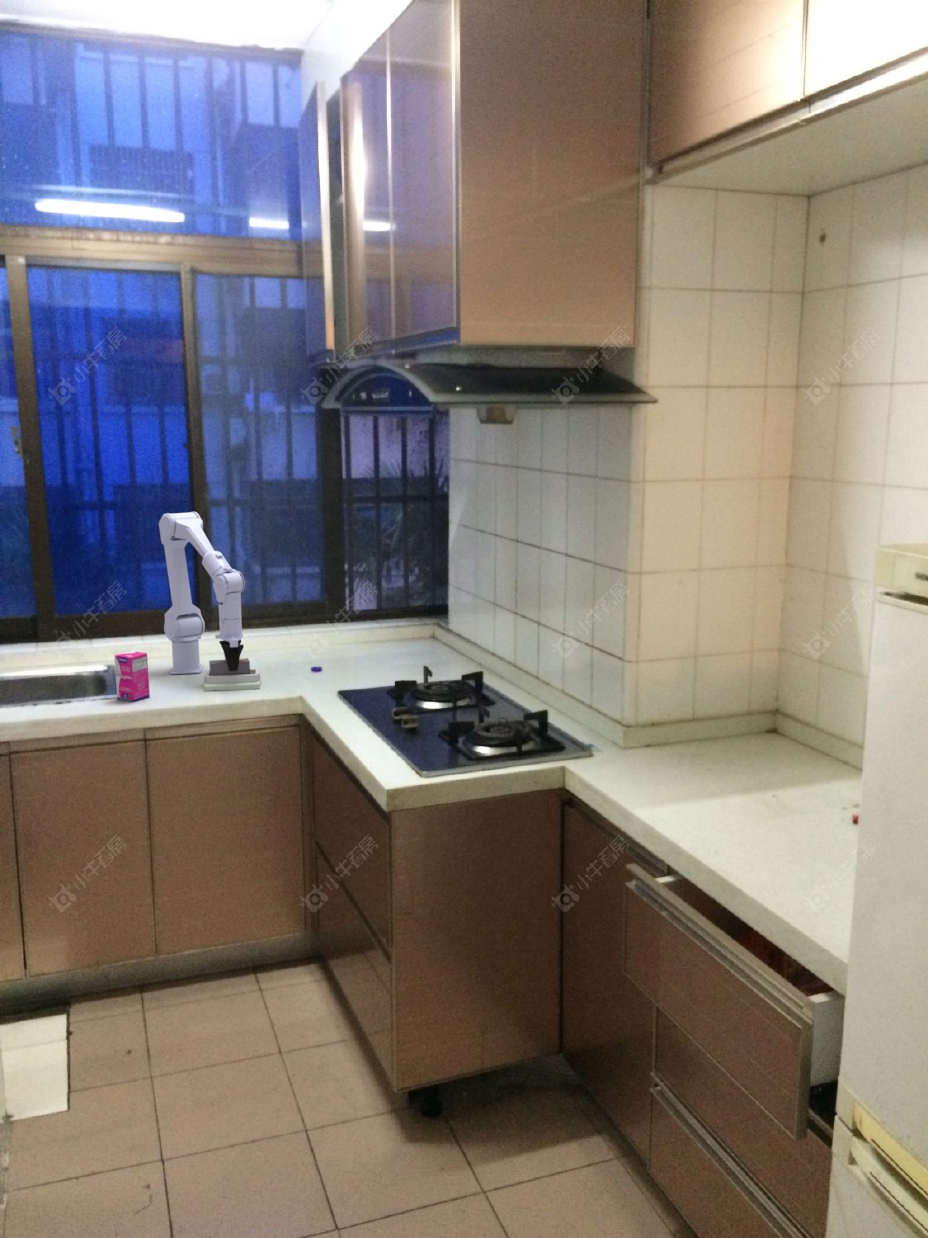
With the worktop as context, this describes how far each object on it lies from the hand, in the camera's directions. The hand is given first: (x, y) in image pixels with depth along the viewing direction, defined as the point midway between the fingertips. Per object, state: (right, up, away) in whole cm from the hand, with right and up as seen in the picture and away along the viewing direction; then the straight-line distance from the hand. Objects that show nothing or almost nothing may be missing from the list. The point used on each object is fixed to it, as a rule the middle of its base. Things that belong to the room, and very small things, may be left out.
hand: (232, 668), depth 272 cm
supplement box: (-21, -7, -14) cm, 27 cm away
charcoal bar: (-1, -3, 0) cm, 3 cm away
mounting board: (0, -4, +1) cm, 4 cm away
